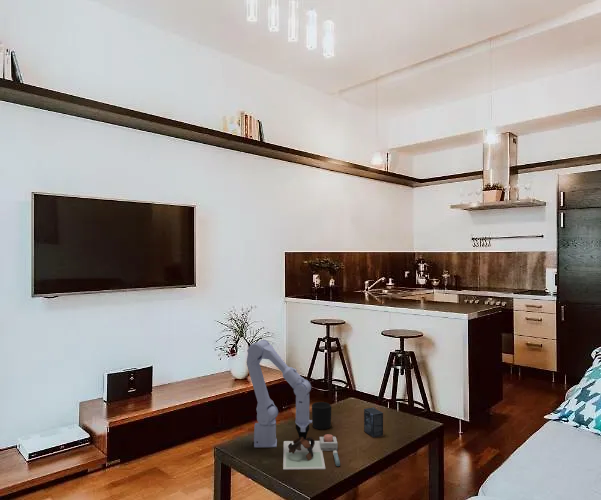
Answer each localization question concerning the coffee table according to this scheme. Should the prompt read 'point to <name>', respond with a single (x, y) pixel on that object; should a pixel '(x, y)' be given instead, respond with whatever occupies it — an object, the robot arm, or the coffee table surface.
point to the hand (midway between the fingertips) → (302, 442)
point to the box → (373, 422)
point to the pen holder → (321, 415)
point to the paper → (303, 458)
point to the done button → (328, 438)
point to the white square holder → (328, 444)
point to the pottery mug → (305, 443)
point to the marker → (336, 458)
